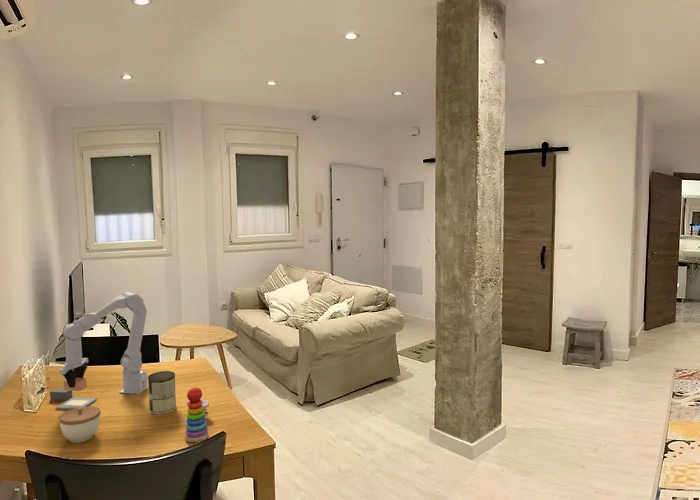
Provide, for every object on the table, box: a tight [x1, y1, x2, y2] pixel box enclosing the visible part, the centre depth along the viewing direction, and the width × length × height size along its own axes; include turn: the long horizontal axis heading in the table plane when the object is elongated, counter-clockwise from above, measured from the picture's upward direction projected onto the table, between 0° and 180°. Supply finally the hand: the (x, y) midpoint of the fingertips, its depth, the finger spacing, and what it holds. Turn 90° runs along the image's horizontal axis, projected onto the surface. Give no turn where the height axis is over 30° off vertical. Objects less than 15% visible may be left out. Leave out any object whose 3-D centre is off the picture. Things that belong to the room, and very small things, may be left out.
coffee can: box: [147, 370, 177, 415], centre depth 192 cm, size 10×10×14 cm
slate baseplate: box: [55, 396, 98, 411], centre depth 196 cm, size 11×10×1 cm
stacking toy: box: [184, 386, 209, 443], centre depth 167 cm, size 8×8×19 cm
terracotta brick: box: [63, 377, 88, 392], centre depth 195 cm, size 7×4×4 cm, turn 84°
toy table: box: [186, 398, 210, 417], centre depth 186 cm, size 10×9×6 cm
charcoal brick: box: [49, 387, 73, 402], centre depth 202 cm, size 7×4×4 cm, turn 84°
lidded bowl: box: [59, 405, 101, 444], centre depth 168 cm, size 13×13×11 cm
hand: (75, 385), depth 195 cm, fingers closed on terracotta brick, 4 cm apart
